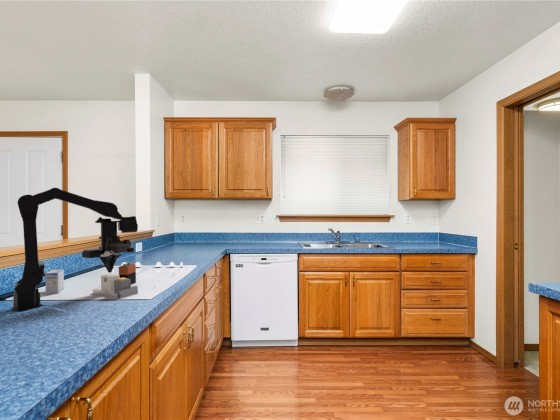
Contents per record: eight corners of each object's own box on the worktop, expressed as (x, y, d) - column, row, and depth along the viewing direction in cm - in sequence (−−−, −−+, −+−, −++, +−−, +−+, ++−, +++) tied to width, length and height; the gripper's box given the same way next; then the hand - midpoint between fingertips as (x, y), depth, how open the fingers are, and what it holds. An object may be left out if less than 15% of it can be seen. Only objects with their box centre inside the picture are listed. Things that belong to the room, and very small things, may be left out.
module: (110, 294, 123) (110, 277, 123) (101, 292, 125) (100, 275, 125) (120, 292, 126) (119, 274, 126) (110, 290, 129) (110, 273, 129)
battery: (118, 287, 136) (118, 264, 136) (127, 283, 143) (126, 261, 143) (128, 287, 136) (127, 264, 136) (136, 283, 142) (136, 261, 142)
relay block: (121, 296, 120) (121, 280, 119) (114, 295, 122) (113, 279, 122) (130, 294, 123) (130, 277, 123) (123, 292, 125) (123, 276, 125)
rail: (120, 300, 117) (120, 290, 117) (93, 294, 125) (92, 286, 125) (137, 294, 124) (137, 286, 124) (111, 290, 132) (110, 281, 132)
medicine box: (51, 290, 134) (51, 270, 133) (64, 289, 135) (63, 269, 135) (45, 295, 126) (44, 273, 126) (58, 293, 128) (58, 272, 128)
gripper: (98, 236, 114) (99, 279, 114) (142, 232, 130) (143, 269, 130) (80, 235, 119) (81, 276, 119) (125, 231, 135) (125, 267, 135)
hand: (109, 272), depth 126 cm, fingers closed
